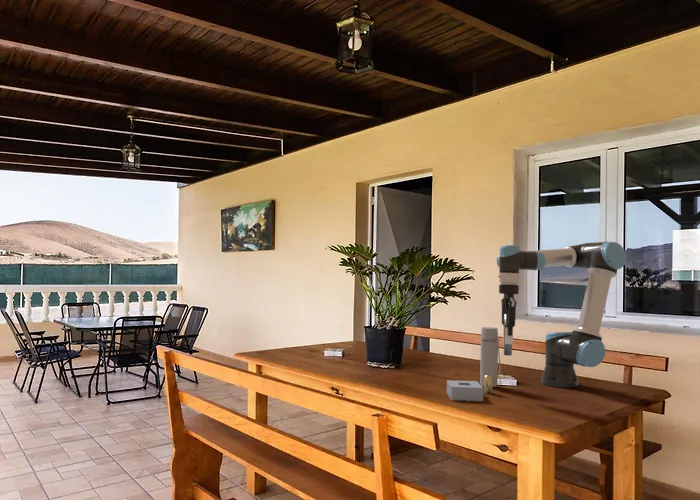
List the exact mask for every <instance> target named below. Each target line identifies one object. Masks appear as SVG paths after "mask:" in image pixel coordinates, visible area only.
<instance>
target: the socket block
mask: <svg viewBox="0 0 700 500" xmlns="http://www.w3.org/2000/svg"><path fill="white" fill-rule="evenodd" d="M446 395H447V396H448V397H449V399H450V400H451V401H461V400H462V401H463V402H464V400H465V402H466V401H467V402H484V387H483V386H481V384H480V383H479V382H478V381H477V380H450V379H448V380H446Z"/></svg>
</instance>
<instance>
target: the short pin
mask: <svg viewBox="0 0 700 500" xmlns="http://www.w3.org/2000/svg"><path fill="white" fill-rule="evenodd" d="M483 394H486V395H488V394H489V395H490V394H493V388H492V375H485V379H484V387H483Z"/></svg>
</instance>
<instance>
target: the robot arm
mask: <svg viewBox="0 0 700 500" xmlns="http://www.w3.org/2000/svg"><path fill="white" fill-rule="evenodd" d="M626 262H627V254H626V251H625V249H624V247H623V246H622V245H621V244H620V243H619V242H616V241H599V242H596V241H595V242H587V243H580V244H574V245H569V246H565V247H563V248H556V249H541V250H520V246H519V245H516V244H514V245H513V244H506V245H505V244H504V245H501V246H500V248H499V254H498V255H497V258H496V265H497V267H498V268H499V274H498V276H497V277H498V279H499V283H500V284H499V285H498V293H499V294H503V298H502V299H501V302H500V303H501V324H502V326H503V327H502V331H503V332H502V343H503V344H504V314H506V320H507V326H505V327H506V341H505V344H512V345H514V327H515V326H516V315H517V313H516V312H517V311H516V310H517V309H516V308H517V303H518V302H517V301H516V299H515V295H519V293H520V292H519V291H520V289H519V288H520V286H519V283H520V271H541V270H543V269H544V268H551V267H552V268H553V267H563V266H564V267H566V268H569V269H571V268H581V269H586V270H587V272H588V274H589V275H588V279H587V283H586V284H587V285H586V289H585V293H584V296H583V297H584V298H583V301H582V306H581V310H580V315H579V318H578V319H579V320H578V322H577V327H576V328H574V329H573V330H572V331H561V332H559V331H558V332H557V331H555V332H547V333H546V335H545V341H544V342H545V344H544V345H545V348H544V350H545V366H544V368H543V372H542V375H541V380H540V381H541V382H540V383H542V384H543V385H545V386H549V387H556V388H577V387H579V379H578V377H577V373H576V371H575V365H578V366H581V367H584V368H585V367H586V368H594V367H597V366H599V365H601V363H602V362H603V360H605V357H606V352H607V351H606V347H605V344H604V342H602V340H603V337H602V335H601V334H600V332H601V327H602V322H603V318H604V313H605V308H606V303H607V299H608V295H609V290H610V285H611V283H612V279H613V278H614V277H616V276H617V274H618V270H621V269H622V268H624V266H625V265H626Z"/></svg>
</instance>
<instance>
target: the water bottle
mask: <svg viewBox="0 0 700 500" xmlns="http://www.w3.org/2000/svg"><path fill="white" fill-rule="evenodd" d="M480 331H481V332H480V337H479V338H480V364H479V366H480V370H479V371H480V376H479V378H480V380H479V382H480V383H479V384H480V385H481V386H482V387H483V388H484V379H485V375H492V389H493V387H494V388H496V387H497V386H498V377H499V375H501V370H502V369H501V368H502V367H501V357H500V348H499V345H500V344H499V342H500V339H499V332H498V331H499V330H498V328H497V327H494V326H493V327H492V326H484V327H483V326H482V327H481V330H480ZM498 366H499V370H498Z"/></svg>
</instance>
